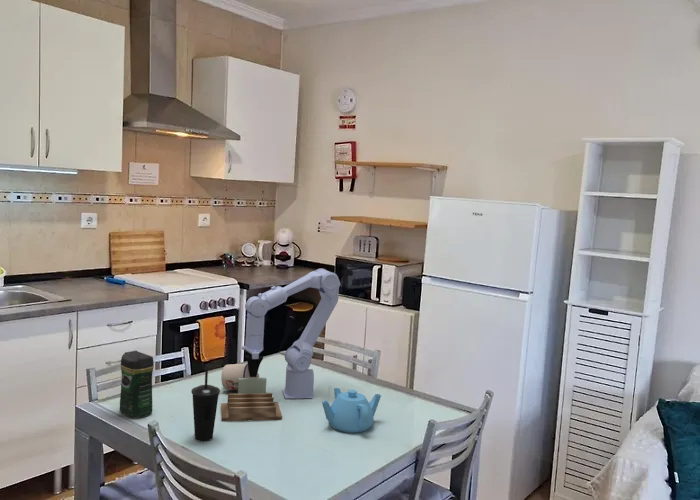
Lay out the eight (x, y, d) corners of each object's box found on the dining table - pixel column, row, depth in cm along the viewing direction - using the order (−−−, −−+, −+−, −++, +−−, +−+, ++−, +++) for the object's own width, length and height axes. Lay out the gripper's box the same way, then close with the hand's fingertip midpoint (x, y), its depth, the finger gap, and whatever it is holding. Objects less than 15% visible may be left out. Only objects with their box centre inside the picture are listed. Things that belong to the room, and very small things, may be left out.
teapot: (317, 429, 176) (319, 394, 175) (333, 412, 191) (335, 379, 189) (366, 439, 172) (369, 403, 171) (379, 420, 186) (382, 387, 185)
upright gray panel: (265, 397, 199) (266, 377, 198) (265, 399, 197) (266, 379, 197) (237, 398, 197) (238, 377, 196) (237, 400, 195) (238, 379, 195)
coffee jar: (156, 414, 180) (158, 354, 177) (133, 421, 173) (134, 359, 171) (138, 405, 185) (140, 347, 183) (115, 411, 179) (116, 351, 177)
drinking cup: (223, 435, 168) (226, 366, 166) (208, 445, 161) (211, 373, 159) (199, 429, 170) (202, 361, 168) (184, 440, 163) (186, 369, 161)
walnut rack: (277, 404, 193) (278, 392, 193) (282, 419, 182) (282, 407, 181) (220, 406, 189) (221, 393, 189) (221, 421, 177) (222, 408, 177)
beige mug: (218, 384, 198) (251, 383, 195) (223, 359, 203) (255, 357, 200) (232, 398, 207) (264, 397, 204) (237, 373, 212) (268, 372, 209)
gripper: (241, 328, 201) (239, 367, 202) (243, 339, 187) (241, 381, 188) (262, 328, 202) (260, 367, 204) (266, 339, 188) (263, 381, 190)
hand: (252, 374), depth 196 cm, fingers open, 4 cm apart
